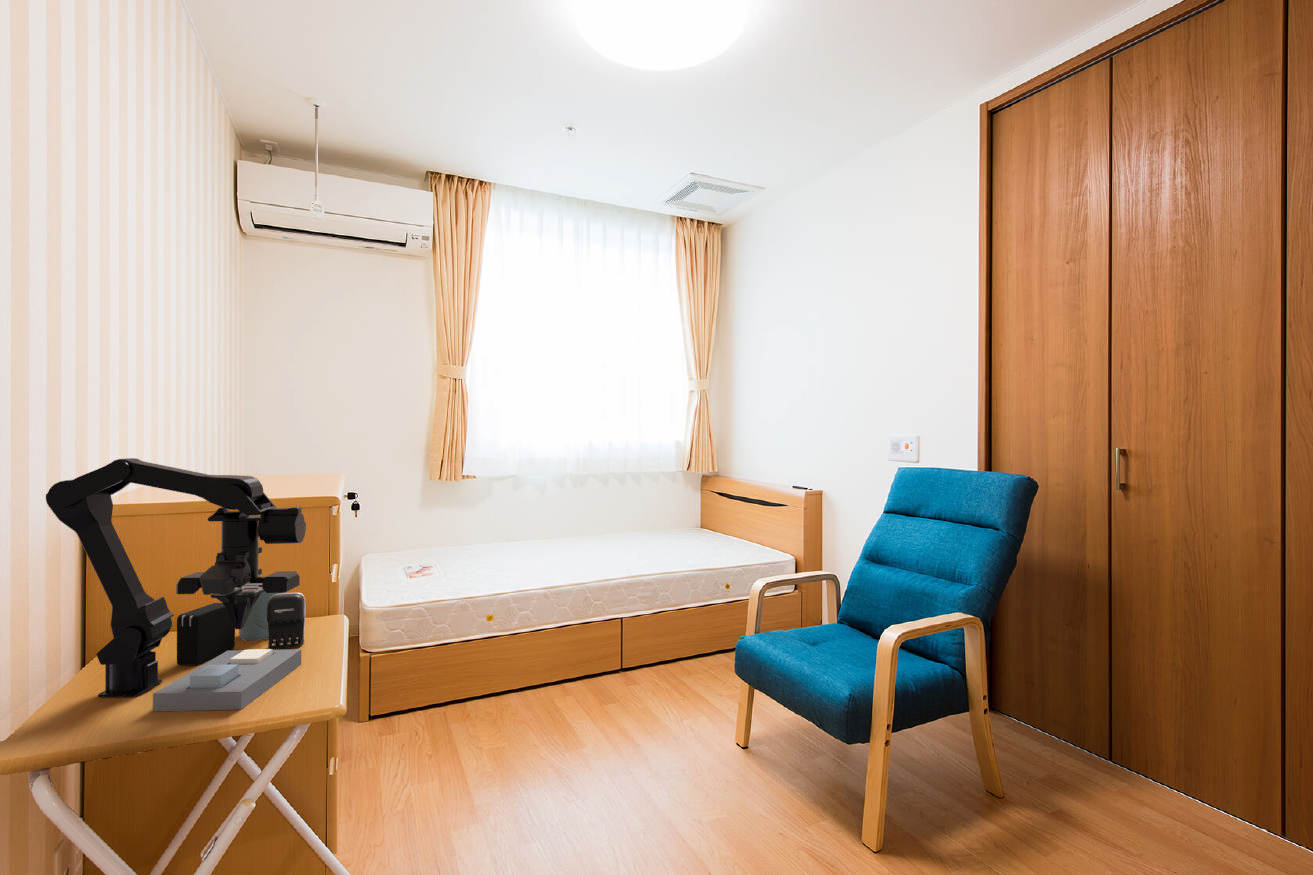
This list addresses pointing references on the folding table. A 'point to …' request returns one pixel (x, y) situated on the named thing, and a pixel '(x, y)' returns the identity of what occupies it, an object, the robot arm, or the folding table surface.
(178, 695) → the key panel
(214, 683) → the slate key
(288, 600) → the battery charger
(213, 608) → the electronic device
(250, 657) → the ivory key
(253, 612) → the teal cup
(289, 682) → the folding table surface
